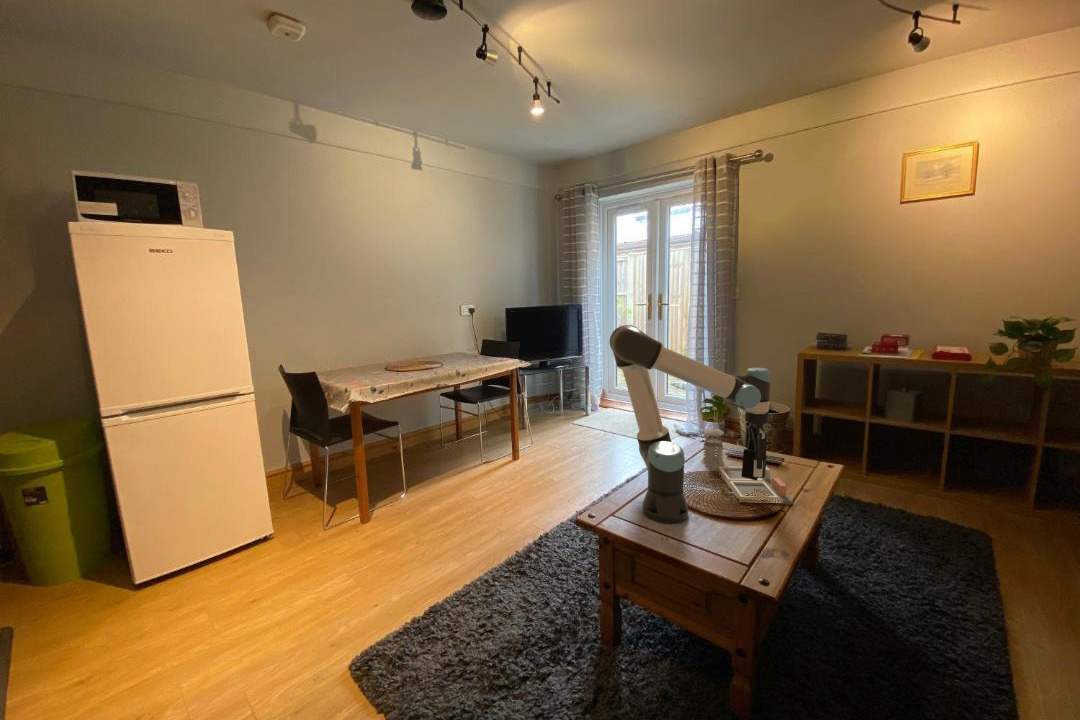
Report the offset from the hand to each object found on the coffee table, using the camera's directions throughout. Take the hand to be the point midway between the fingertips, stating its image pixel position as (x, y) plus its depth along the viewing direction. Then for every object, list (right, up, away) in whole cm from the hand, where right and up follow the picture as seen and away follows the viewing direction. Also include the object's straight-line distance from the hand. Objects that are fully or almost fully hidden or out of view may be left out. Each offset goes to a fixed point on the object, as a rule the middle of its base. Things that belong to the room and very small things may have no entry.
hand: (754, 472), depth 158 cm
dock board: (+3, -7, +8) cm, 11 cm away
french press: (-3, -4, +30) cm, 31 cm away
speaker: (0, -2, 0) cm, 2 cm away
